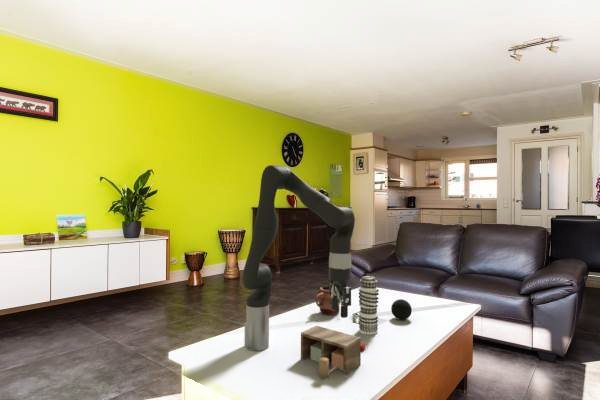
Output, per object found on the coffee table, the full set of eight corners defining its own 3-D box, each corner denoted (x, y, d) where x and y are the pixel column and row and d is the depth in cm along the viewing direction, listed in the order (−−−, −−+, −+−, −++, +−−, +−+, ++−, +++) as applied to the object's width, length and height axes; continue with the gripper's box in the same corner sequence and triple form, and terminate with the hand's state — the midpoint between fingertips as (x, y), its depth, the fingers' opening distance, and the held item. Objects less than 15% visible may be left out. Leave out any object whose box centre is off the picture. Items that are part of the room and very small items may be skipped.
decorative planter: (326, 320, 181) (327, 292, 181) (307, 315, 188) (307, 289, 188) (348, 311, 196) (348, 285, 196) (329, 307, 204) (329, 282, 204)
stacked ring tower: (378, 335, 161) (379, 279, 161) (357, 333, 163) (358, 278, 163) (378, 328, 170) (378, 275, 170) (358, 327, 172) (359, 274, 172)
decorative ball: (407, 324, 177) (407, 303, 177) (388, 319, 183) (388, 300, 183) (414, 318, 185) (414, 299, 185) (395, 315, 191) (395, 296, 191)
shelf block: (310, 359, 137) (310, 346, 137) (318, 354, 140) (318, 342, 141) (321, 362, 133) (321, 349, 134) (328, 358, 137) (328, 345, 137)
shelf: (300, 359, 136) (300, 332, 136) (316, 350, 144) (316, 325, 144) (346, 375, 124) (346, 346, 124) (360, 365, 132) (360, 337, 132)
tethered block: (315, 376, 123) (315, 359, 123) (338, 361, 135) (339, 345, 135) (327, 381, 120) (327, 363, 120) (350, 365, 131) (350, 348, 132)
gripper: (322, 262, 128) (322, 307, 129) (337, 270, 115) (336, 321, 115) (342, 261, 130) (341, 306, 131) (359, 269, 117) (358, 319, 117)
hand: (339, 313), depth 123 cm, fingers open, 8 cm apart
